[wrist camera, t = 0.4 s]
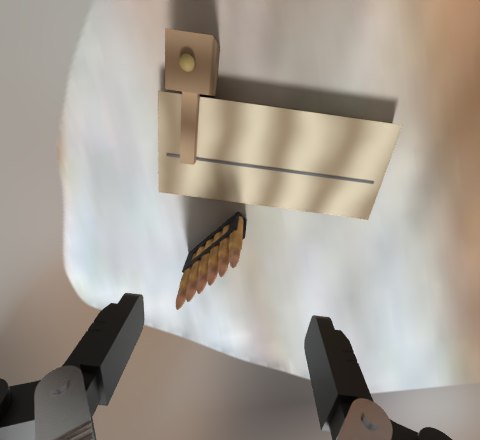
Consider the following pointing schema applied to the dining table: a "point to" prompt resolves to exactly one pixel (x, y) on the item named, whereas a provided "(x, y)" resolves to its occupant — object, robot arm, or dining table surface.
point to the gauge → (190, 80)
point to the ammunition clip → (212, 258)
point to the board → (276, 156)
